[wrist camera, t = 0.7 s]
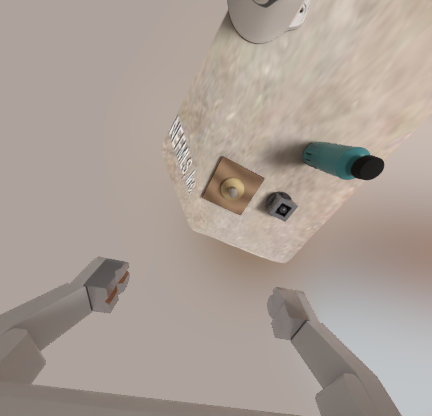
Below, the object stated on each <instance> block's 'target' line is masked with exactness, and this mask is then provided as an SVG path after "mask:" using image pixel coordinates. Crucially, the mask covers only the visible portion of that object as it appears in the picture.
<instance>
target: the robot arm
mask: <svg viewBox="0 0 432 416" xmlns="http://www.w3.org/2000/svg"><path fill="white" fill-rule="evenodd" d="M310 2H311V0H228V10H229V14H230V18H231V20H232V23H233V25H234V27H235V29H236V30H237V31H238V33H239V34H240V35H241V36H242V37H243V38H245V39H246V40H248V41H250V42H253V43H265V42H269V41H271V40H273V39H275V38H276V37H278V36H279V35H280V34H282V33H283V32H285V31H289V30H294V29H297V28H299V27H300V26H301V24H302V23H303V21H304V19H305V16H306V13H307V10H308V8H309V5H310ZM300 10H302V13H300ZM128 268H129V263H128V262H124V261H119V260H113V259H108V258H103V257H97V258H95V259H94V260H93V261H92V262H91V263H90V264H89V265H88V266H87V267H86V268H85V269H84V270H83V271H82V272H81V273H80V274H79V275H78V276H77V277H76V278H75V279H74V280H73V281H72V282H71V283H70V284H69V283H66V284H64V285H62V286H60V287H58V288H55V289H53V290H51V291H49V292H47V293H45V294H43V295H41V296H39V297H37V298H35V299H33V300H30V301H28V302H26V303H24V304H22V305H20V306H18V307H16V308H14V309H12V310H9V311H7V312H6V313H3V314H1V315H0V416H299V415H290V414H282V413H273V412H264V411H256V410H248V409H239V408H230V407H222V406H213V405H205V404H196V403H187V402H178V401H169V400H162V399H153V398H145V397H135V396H127V395H119V394H110V393H101V392H93V391H84V390H75V389H66V388H58V387H50V386H42V385H32V382H33V381H34V379H35V378H36V377H37V375H38V374H39V372H40V371H41V370H42V369H43V367H44V366H45V362H46V360H45V358H44V357H43V355H42V354H41V352H40V351H41V350H42V349H44V348H45V347H46V346H48V345H49V344H50V343H52V342H53V341H54V340H55V339H57V338H58V337H60V336H61V335H62V334H64V333H65V332H66V331H68V330H69V329H70V328H71V327H73V326H74V325H75V324H77V323H78V322H79V321H81V320H82V319H83V318H85V317H86V316H87V315H89V314H90V313H91V312H92V311H96V312H104V313H111V311H112V310H113V308H114V306H115V304H116V303H117V301H118V295H119V294H120V293H122V292H123V291H124V290H125V288H126V286H127V284H128V281H129V272H128V271H127V269H128ZM267 307H268V312H269V315H270V316H271V317H272V319H273V320H272V323H271V324H272V328H273V332H274V335H275V337H276V338H280V339H286V340H291V342H292V344H293V346H294V347H295V348H296V350H297V351H298V353H299V354H300V356H301V357H302V359H303V360H304V362H305V363H306V364H307V366H308V367H309V369H310V370H311V372H312V373H313V374H314V376H315V378H316V379H317V381H318V382H319V383H320V385H321V386H322V388H323V390H322V391H320V392H319V393H317V394H316V397H315V399H316V402H317V405H318V408H319V411H320V414H321V416H402V415H401V414H400V412H399V411H398V409H397V408H396V406H395V404H394V403H393V401H392V400H391V398H390V396H389V395H388V393H387V392H386V390H385V388H384V387H383V385H382V384H381V382H380V381H379V379H378V377H377V376H376V375H375V374H374V373H373V372H372V371H371V370H370V369H369V368H368V367H367V366H366V365H364V363H363V362H362V361H361V360H359V358H358V357H356V356H355V355H354V354H353V353H352V352H351V351H350V350H349V349H348V348H347V347H346V346H345V345H344V344H343V343H342V342H341V341H340V340H339V339H338V338H337V337H336V336H335V335H334V334H333V333H332V332H331V331H330V330H329V329H328V328H327V327H326V326H325V325H324V324H323V323H320V322H319V320H318V318H317V317H316V314H315V313H314V311H313V309H312V307H311V305H310V303H309V301H308V299H307V297H306V295H305V294H304V292H303V291H297V290H292V289H286V288H280V287H276V288H274V290H273V295H271V296H270V297H269V299H268V304H267Z"/></svg>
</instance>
